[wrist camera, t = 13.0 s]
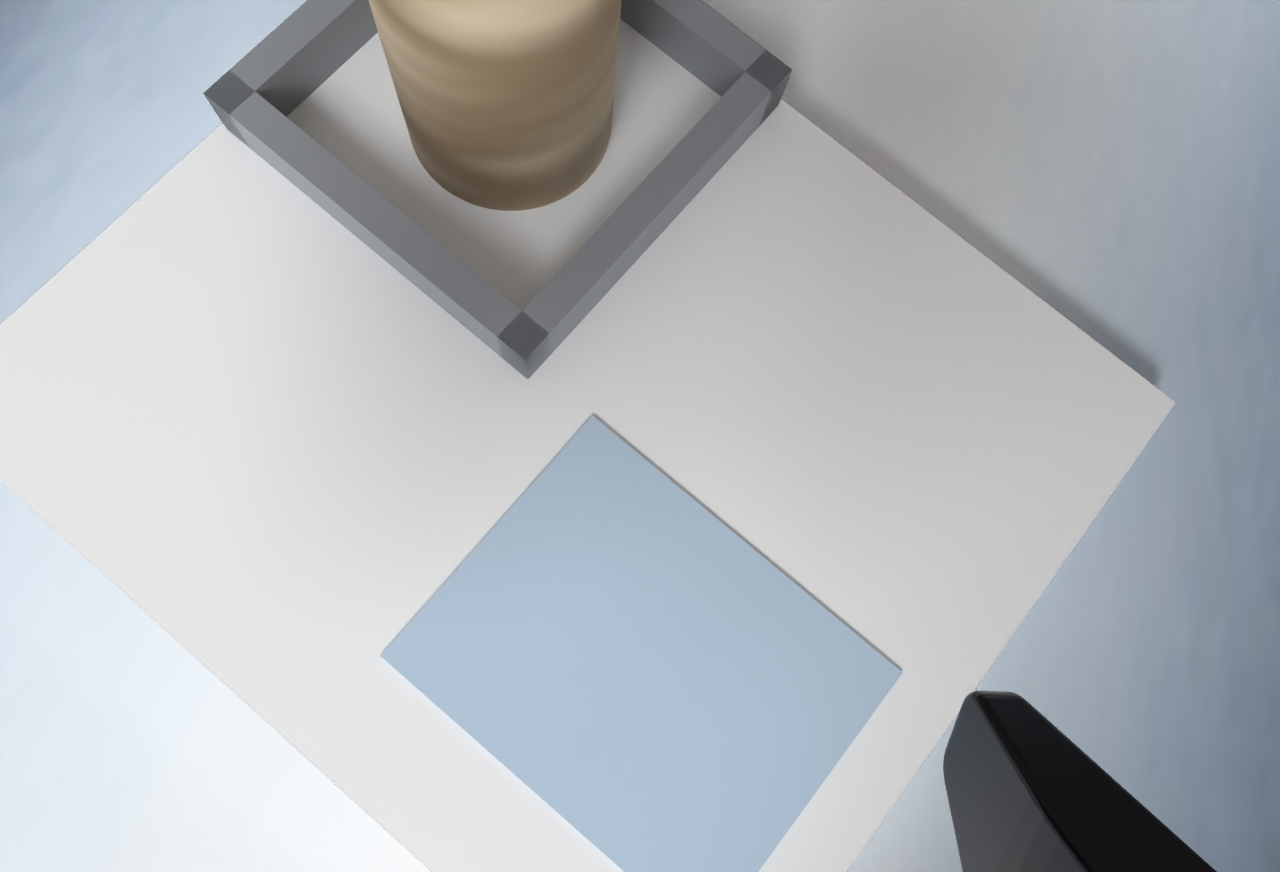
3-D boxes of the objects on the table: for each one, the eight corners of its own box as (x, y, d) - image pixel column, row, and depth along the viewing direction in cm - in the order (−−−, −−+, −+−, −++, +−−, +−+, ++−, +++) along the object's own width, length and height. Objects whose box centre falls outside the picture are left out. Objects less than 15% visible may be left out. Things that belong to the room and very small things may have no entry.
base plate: (1151, 412, 24) (1217, 385, 21) (679, 1079, 20) (694, 1139, 17) (496, -95, 26) (488, -172, 23) (-57, 414, 22) (-137, 384, 19)
